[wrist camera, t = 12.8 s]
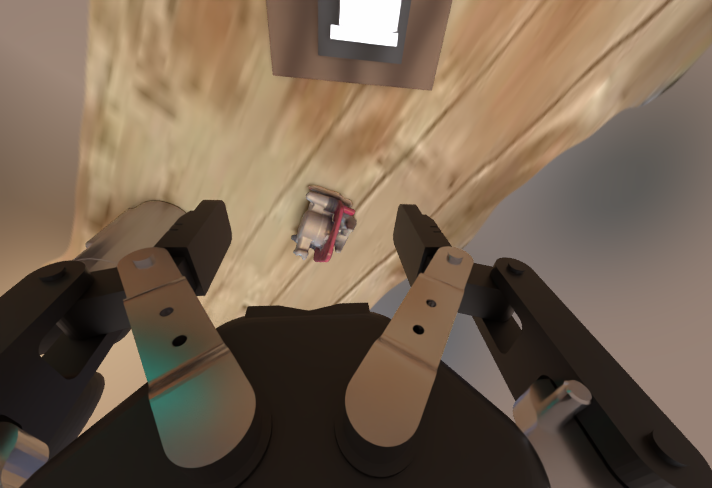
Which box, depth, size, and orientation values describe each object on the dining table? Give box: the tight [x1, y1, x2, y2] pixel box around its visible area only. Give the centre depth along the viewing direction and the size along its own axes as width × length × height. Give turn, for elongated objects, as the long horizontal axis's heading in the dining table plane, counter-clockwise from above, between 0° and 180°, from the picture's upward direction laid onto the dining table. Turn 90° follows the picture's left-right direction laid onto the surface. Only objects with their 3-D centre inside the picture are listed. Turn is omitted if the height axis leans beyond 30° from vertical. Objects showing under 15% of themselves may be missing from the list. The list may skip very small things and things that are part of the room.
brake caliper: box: [291, 186, 357, 262], centre depth 42 cm, size 11×11×12 cm
